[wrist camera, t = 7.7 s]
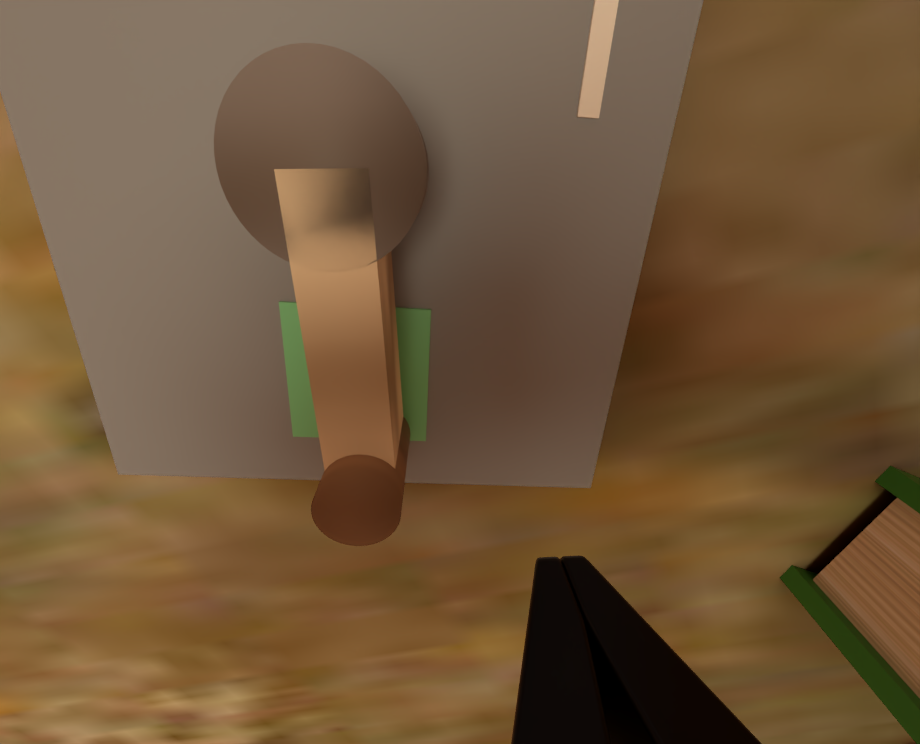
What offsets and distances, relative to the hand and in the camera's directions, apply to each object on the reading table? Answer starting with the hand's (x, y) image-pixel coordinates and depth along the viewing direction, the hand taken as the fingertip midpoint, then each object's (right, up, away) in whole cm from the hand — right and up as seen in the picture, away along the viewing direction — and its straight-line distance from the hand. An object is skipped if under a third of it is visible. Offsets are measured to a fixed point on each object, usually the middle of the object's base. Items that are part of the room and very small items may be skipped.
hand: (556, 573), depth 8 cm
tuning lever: (-5, +6, +6) cm, 9 cm away
